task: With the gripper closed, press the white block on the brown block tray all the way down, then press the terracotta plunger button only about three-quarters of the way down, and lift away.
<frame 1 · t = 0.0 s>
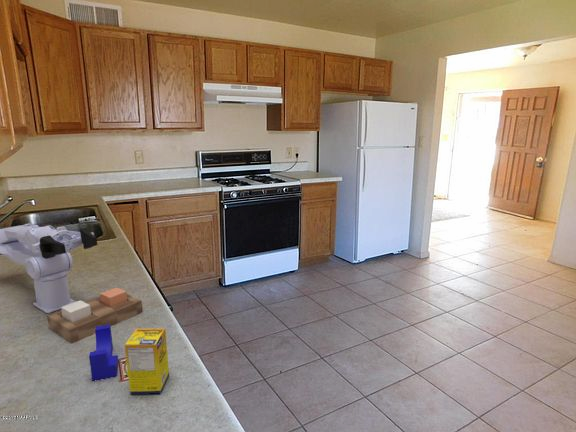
hand: (80, 245, 92), 22 cm above the table, tool horizontal, fingers open, 7 cm apart
white block: (76, 312, 94), point 4 cm above the table, slide at 0.0 cm
brown block tray: (97, 319, 99), on the table
terracotta button: (113, 298, 102), point 4 cm above the table, slide at 0.0 cm
supplement box: (150, 385, 74), on the table
blue notched block: (107, 364, 81), on the table
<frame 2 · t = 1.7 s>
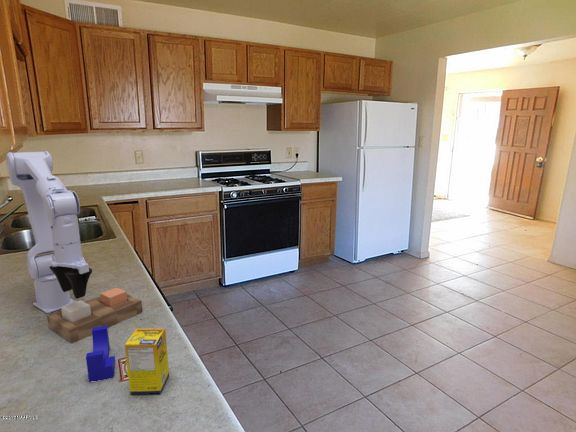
hand: (73, 293, 93), 9 cm above the table, tool pointing down, fingers open, 6 cm apart
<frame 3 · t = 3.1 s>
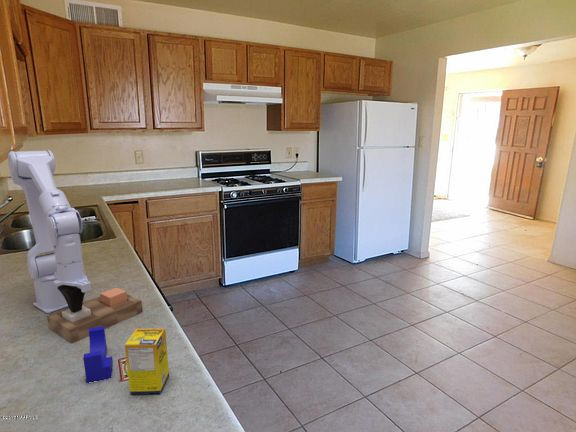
hand: (76, 310, 94), 5 cm above the table, tool pointing down, fingers closed, pressing on white block
white block: (77, 317, 95), point 3 cm above the table, slide at 1.3 cm, touching gripper
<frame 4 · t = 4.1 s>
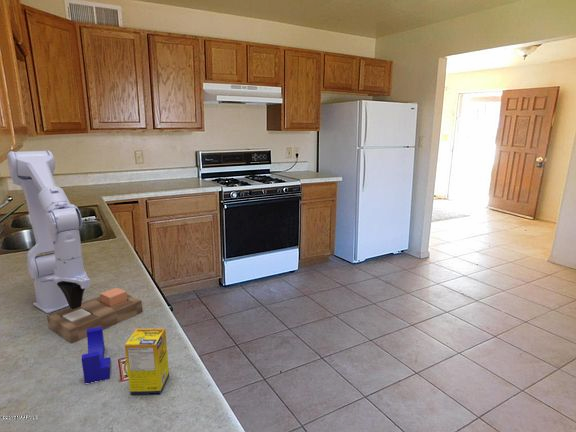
hand: (75, 307, 94), 6 cm above the table, tool pointing down, fingers closed
white block: (77, 320, 95), point 2 cm above the table, slide at 2.4 cm
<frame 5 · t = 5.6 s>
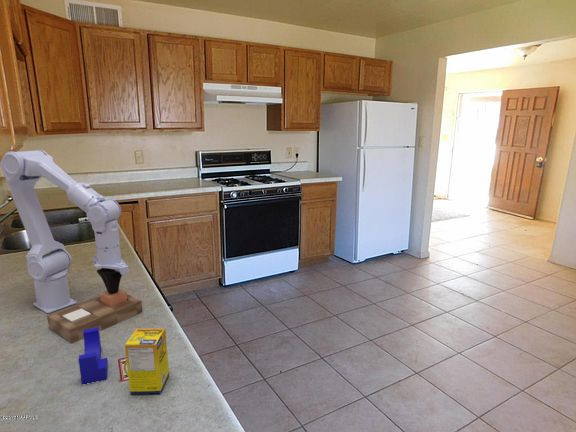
hand: (113, 292, 102), 6 cm above the table, tool pointing down, fingers closed, pressing on terracotta button
terracotta button: (113, 298, 102), point 4 cm above the table, slide at 0.1 cm, touching gripper
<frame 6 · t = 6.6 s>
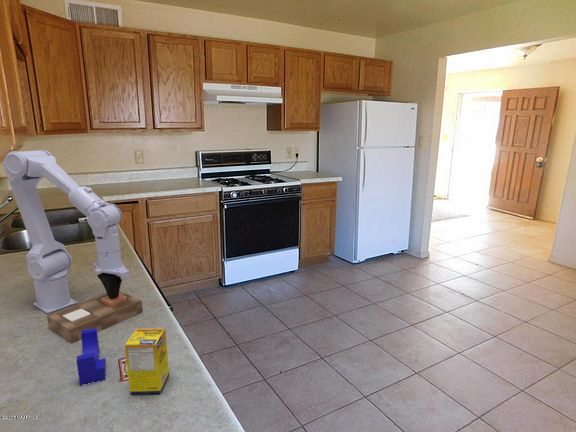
hand: (113, 297, 102), 5 cm above the table, tool pointing down, fingers closed
terracotta button: (114, 303, 103), point 3 cm above the table, slide at 1.6 cm
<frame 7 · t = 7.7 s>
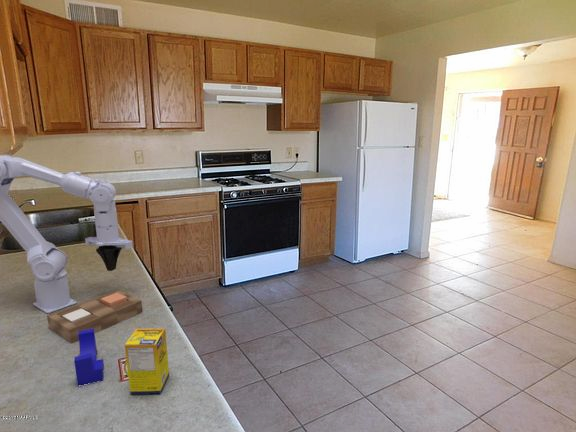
hand: (111, 269, 109), 9 cm above the table, tool pointing down, fingers closed
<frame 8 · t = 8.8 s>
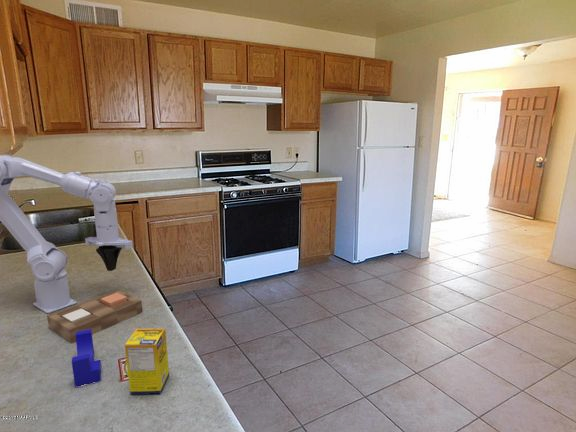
hand: (111, 269, 109), 9 cm above the table, tool pointing down, fingers closed
at the end: white block slide at 2.4 cm; terracotta button slide at 1.6 cm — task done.
